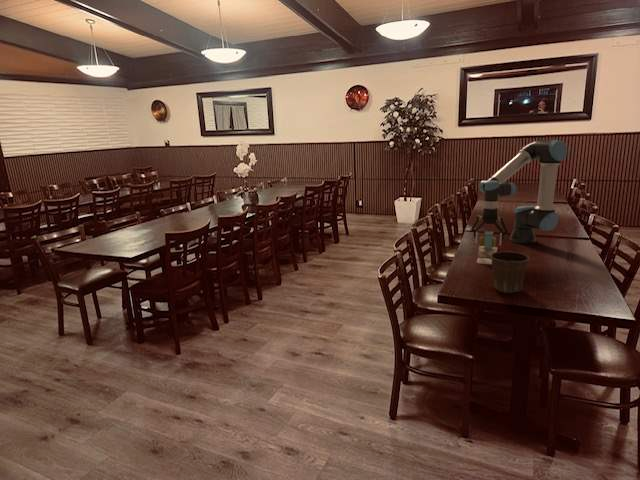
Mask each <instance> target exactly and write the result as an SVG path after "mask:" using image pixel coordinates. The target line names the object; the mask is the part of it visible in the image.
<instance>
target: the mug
mask: <svg viewBox="0 0 640 480" xmlns="http://www.w3.org/2000/svg"><path fill="white" fill-rule="evenodd" d="M479 237H480V238H479V246H484V243H485V235H484V236H479ZM496 242H497V238H496V236H492V247H496Z"/></svg>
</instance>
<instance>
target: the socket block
mask: <svg viewBox="0 0 640 480" xmlns="http://www.w3.org/2000/svg"><path fill="white" fill-rule="evenodd" d="M495 252H498V247H496V246H495V247H491V250H484V246H480V245H479V246H478V249H477V258H489V259H492V258H491V254H492V253H495Z"/></svg>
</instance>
